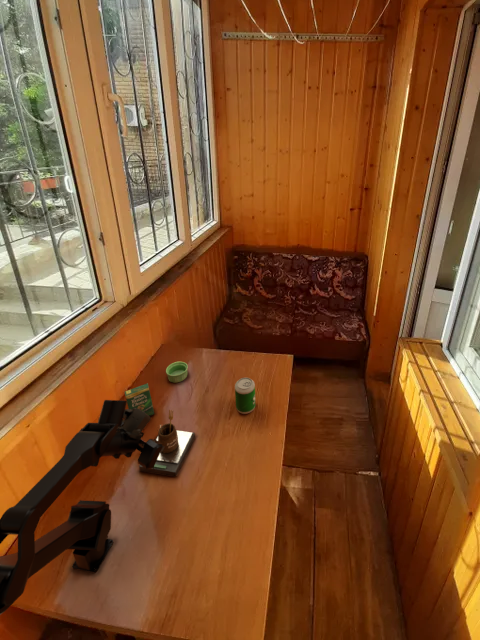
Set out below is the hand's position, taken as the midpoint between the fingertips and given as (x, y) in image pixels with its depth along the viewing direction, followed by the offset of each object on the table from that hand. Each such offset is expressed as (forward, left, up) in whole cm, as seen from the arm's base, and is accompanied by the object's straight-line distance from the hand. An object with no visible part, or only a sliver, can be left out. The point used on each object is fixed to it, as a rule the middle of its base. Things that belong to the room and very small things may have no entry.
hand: (153, 441), depth 95 cm
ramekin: (+38, +12, -10) cm, 41 cm away
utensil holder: (+5, -2, -8) cm, 9 cm away
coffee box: (+16, +15, -10) cm, 24 cm away
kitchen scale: (+4, -2, -10) cm, 11 cm away
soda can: (+26, -22, -10) cm, 35 cm away
